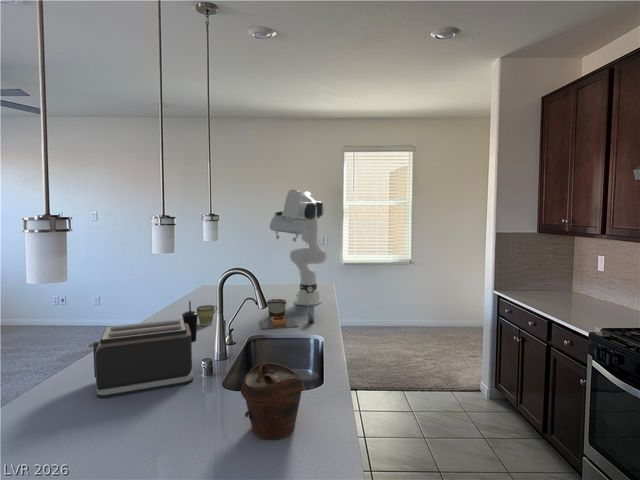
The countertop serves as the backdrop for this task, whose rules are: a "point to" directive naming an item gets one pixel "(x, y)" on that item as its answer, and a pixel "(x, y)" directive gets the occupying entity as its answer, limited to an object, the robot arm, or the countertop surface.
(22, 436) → the countertop surface
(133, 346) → the toaster
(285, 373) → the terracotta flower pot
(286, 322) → the grey base plate
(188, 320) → the drinking cup
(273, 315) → the food container
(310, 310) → the square-headed pin
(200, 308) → the ceramic cup
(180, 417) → the countertop surface
